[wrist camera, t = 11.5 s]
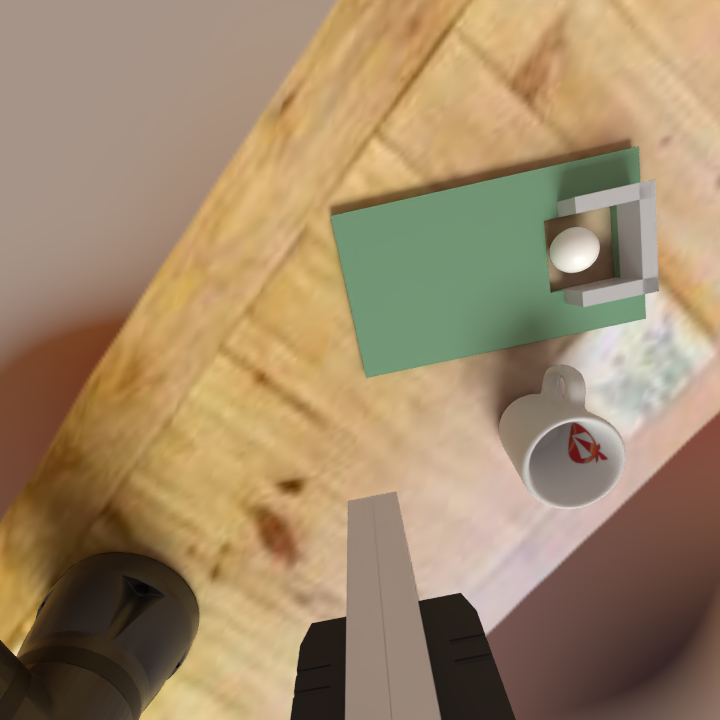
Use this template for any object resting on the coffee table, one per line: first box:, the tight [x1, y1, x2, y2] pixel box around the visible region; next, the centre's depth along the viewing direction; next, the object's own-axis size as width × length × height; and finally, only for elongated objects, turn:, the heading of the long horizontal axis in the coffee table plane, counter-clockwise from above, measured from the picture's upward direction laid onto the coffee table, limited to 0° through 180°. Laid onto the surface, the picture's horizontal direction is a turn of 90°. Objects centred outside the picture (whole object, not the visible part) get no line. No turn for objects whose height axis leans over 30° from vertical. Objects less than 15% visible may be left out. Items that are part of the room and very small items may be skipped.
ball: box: [549, 227, 600, 273], centre depth 32 cm, size 4×4×4 cm
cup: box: [499, 365, 626, 509], centre depth 34 cm, size 11×8×8 cm
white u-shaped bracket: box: [557, 179, 659, 307], centre depth 32 cm, size 6×8×4 cm
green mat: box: [331, 146, 646, 378], centre depth 34 cm, size 25×14×1 cm, turn 102°
